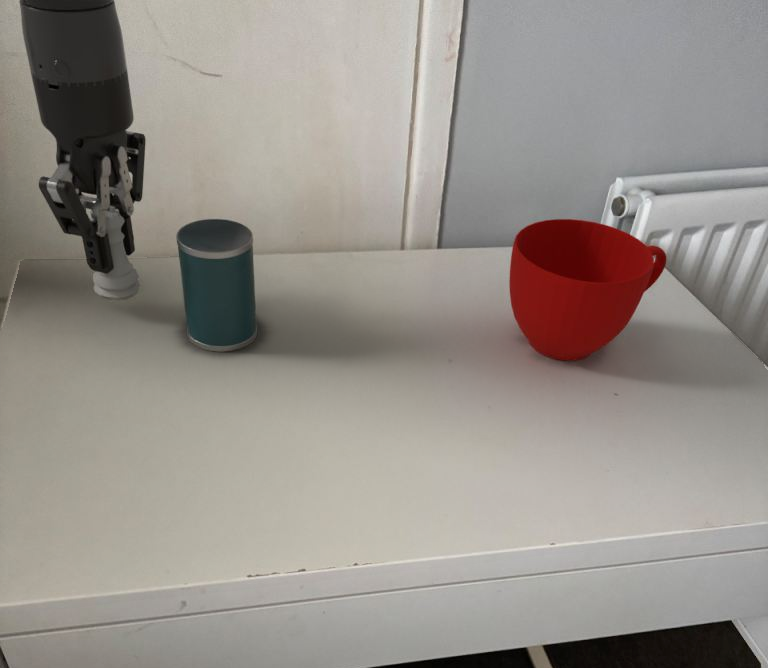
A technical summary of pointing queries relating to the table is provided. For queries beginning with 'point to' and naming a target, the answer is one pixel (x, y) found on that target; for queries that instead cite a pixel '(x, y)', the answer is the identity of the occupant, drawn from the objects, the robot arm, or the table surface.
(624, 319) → the ceramic cup
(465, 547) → the table surface
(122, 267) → the rook chess piece
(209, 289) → the tin can
